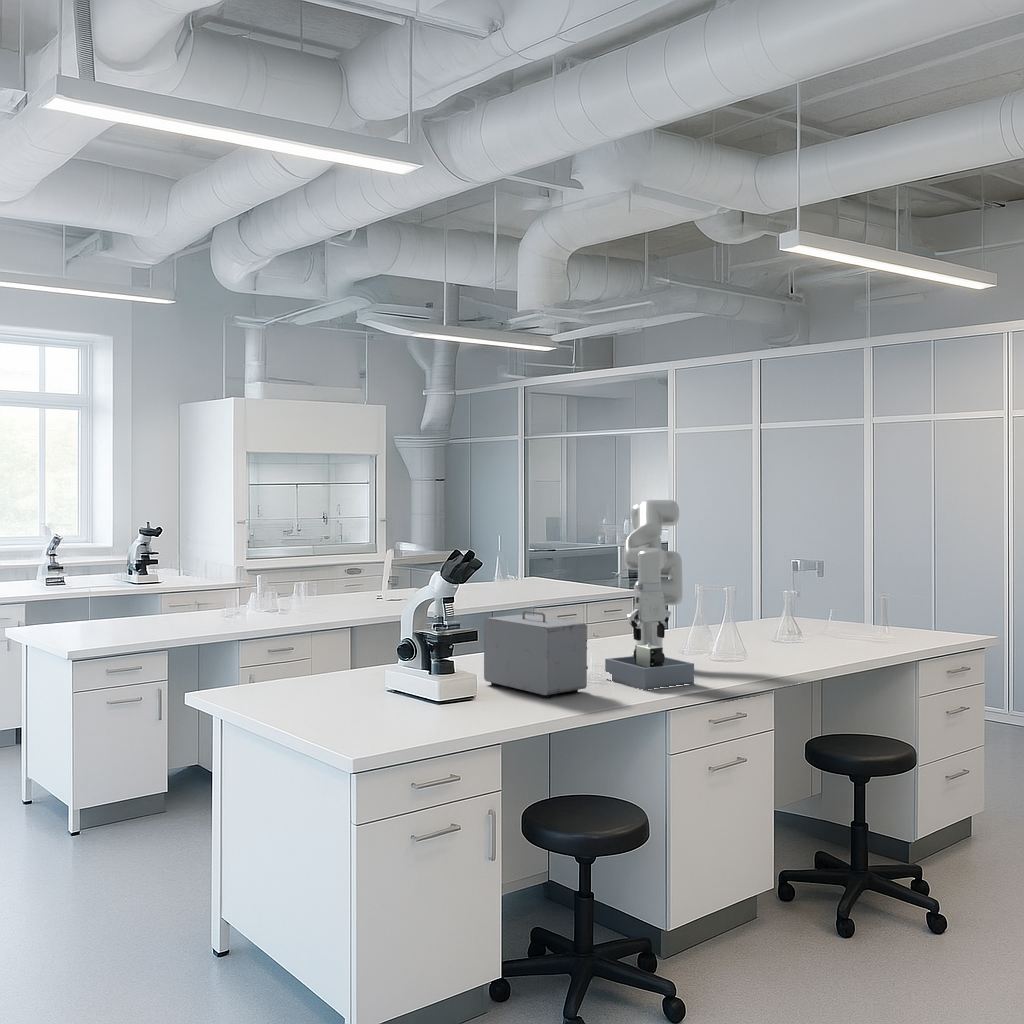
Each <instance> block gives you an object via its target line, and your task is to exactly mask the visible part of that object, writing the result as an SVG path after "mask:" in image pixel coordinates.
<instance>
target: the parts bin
mask: <svg viewBox="0 0 1024 1024" xmlns="http://www.w3.org/2000/svg"><path fill="white" fill-rule="evenodd" d="M604 661H605V662H604V663H605V664H604V666H605V667H604V672H605V671H606V672H609V673H610V674H612V681H613V682H612V681H611V682H612V683H617V684H620V685H623V686H626V687H631V688H633V687H634V689H637V688H639V689H638V690H641V689H643V690H642V691H644V690H647V691H649V690H648V689H654V688H660V687H669V686H676V685H684V684H694V685H695V663H694V662H689V661H684V660H680V659H675V658H672V657H667V656H665V660H664V663H663V666H660V667H651V668H647V667H643V665H639V664H635V658H634V656H632V655H631V656H621V657H609V658H604Z"/></svg>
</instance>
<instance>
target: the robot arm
mask: <svg viewBox="0 0 1024 1024" xmlns="http://www.w3.org/2000/svg"><path fill="white" fill-rule="evenodd" d="M679 507H680V506H679V504H678V503H677V501H675V500H672V499H647V500H643V501H641V503H636V504H633V506H632V507H631V510H630V511H631V512H630V518H631V523H632V526H633V531H632V532H631V533H630V534H629V535H628V536H627V538H626V539H625V542H624V548H623V564H624V566H625V567H626V568H627V569H628V570H631V571H632V570H633V571H635V570H637V581H636V582H635V583H634V586H633V595H634V596H633V597H634V606H633V611H631V612H630V613H628V614H627V615H626V617H627V620H628V623H629V625H630V626H631V628H632V629H633V634H632V635H633V636H632V637H633V640H635V643H636V645H644V644H648V643H650V645H652V646H657V647H661V648H663V639H664V638H665V630H666V629H665V627H666V626H667V623H668V622H669V621H670V617H671V614H672V612H671V611H670V610H668V609H666V606H678V605H679V604H681V603H682V600H683V595H684V594H683V592H684V591H683V590H684V589H683V562H682V557H681V555H680V553H679V552H677V551H675V550H674V551H673V550H664V549H662V539H661V535H662V533H663V527H665V526H666V527H668V526H669V527H673V526H676V525H677V524H678V522H679V520H680V519H679V518H680V508H679ZM662 577H663V578H662ZM631 656H634V655H633V652H632V653H631Z"/></svg>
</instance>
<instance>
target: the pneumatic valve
mask: <svg viewBox="0 0 1024 1024" xmlns="http://www.w3.org/2000/svg"><path fill="white" fill-rule="evenodd" d="M663 650H664V648H663V647H662V648H661V647H657V646H652V645H650V643H648V644H644V645H635V648H634V650H633V652H632V653H633V655H634V658H635V664H639V665H643V667H647V668H651V667H660V666H663V663H664V660H665V657H666V656H665V653H664V651H663Z"/></svg>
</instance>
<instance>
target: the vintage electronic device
mask: <svg viewBox="0 0 1024 1024" xmlns="http://www.w3.org/2000/svg"><path fill="white" fill-rule="evenodd" d="M531 614H532V615H531ZM537 615H542V616H537ZM587 627H588V626H587V624H586V623H585V622H580V621H572V620H566V619H561V618H552V617H551V618H550V617H546V614H545V613H544V612H541V611H534V610H527V609H525V610H522V613H521V614H516V615H515V614H514V615H513V614H512V615H505V616H504V615H503V616H502V615H501V616H495V617H486V618H484V620H483V679H484V681H486V682H488V683H491V687H498V686H499V685H501V686H504V687H509V688H512V689H513V688H514V689H517V690H522V691H527V692H529V693H534V694H538V695H541V698H542V699H549V698H550V697H551V695H555V694H561V693H566V692H569V694H575V695H576V694H578V691H579V690H584V689H586V688H587V686H588V684H587V683H588V681H587V679H588V675H587V673H588V671H587V670H588V669H589V667H588V664H587V663H588V662H587V661H588V660H587V659H588V654H587V652H588V646H587V645H588V628H587Z"/></svg>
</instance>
